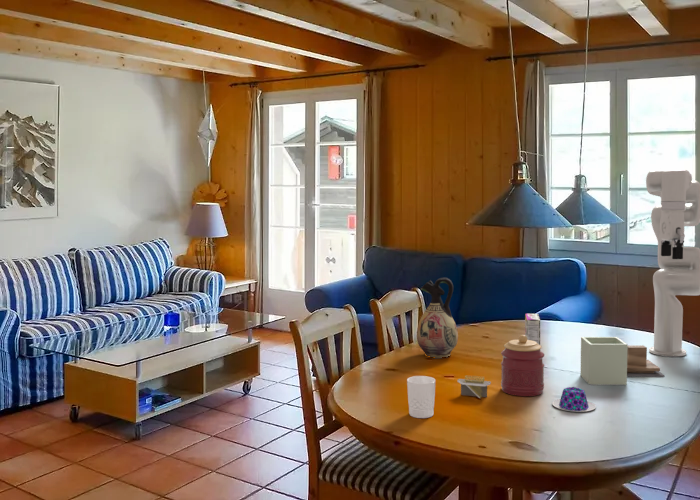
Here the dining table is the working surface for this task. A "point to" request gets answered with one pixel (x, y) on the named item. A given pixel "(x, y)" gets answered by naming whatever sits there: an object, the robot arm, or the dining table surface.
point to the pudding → (574, 400)
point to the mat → (646, 374)
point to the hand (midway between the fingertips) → (671, 257)
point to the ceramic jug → (437, 322)
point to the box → (604, 360)
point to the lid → (639, 360)
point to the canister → (522, 367)
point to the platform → (474, 386)
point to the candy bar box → (532, 327)
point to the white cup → (421, 396)
